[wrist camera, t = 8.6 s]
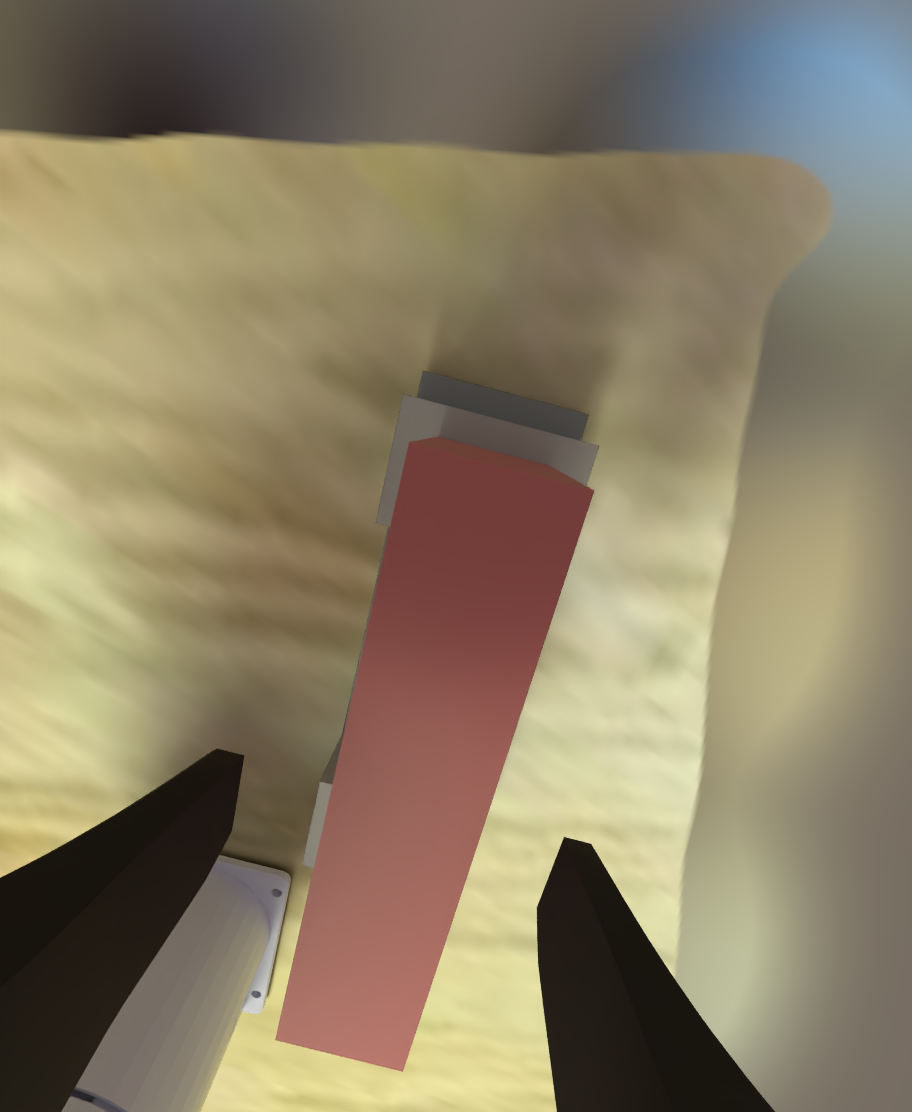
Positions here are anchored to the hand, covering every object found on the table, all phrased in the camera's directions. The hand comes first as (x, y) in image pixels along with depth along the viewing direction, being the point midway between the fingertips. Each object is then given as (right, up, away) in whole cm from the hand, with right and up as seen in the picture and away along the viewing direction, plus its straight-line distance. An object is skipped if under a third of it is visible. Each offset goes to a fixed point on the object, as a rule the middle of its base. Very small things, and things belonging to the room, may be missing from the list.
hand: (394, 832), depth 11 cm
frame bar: (+1, +2, +6) cm, 6 cm away
